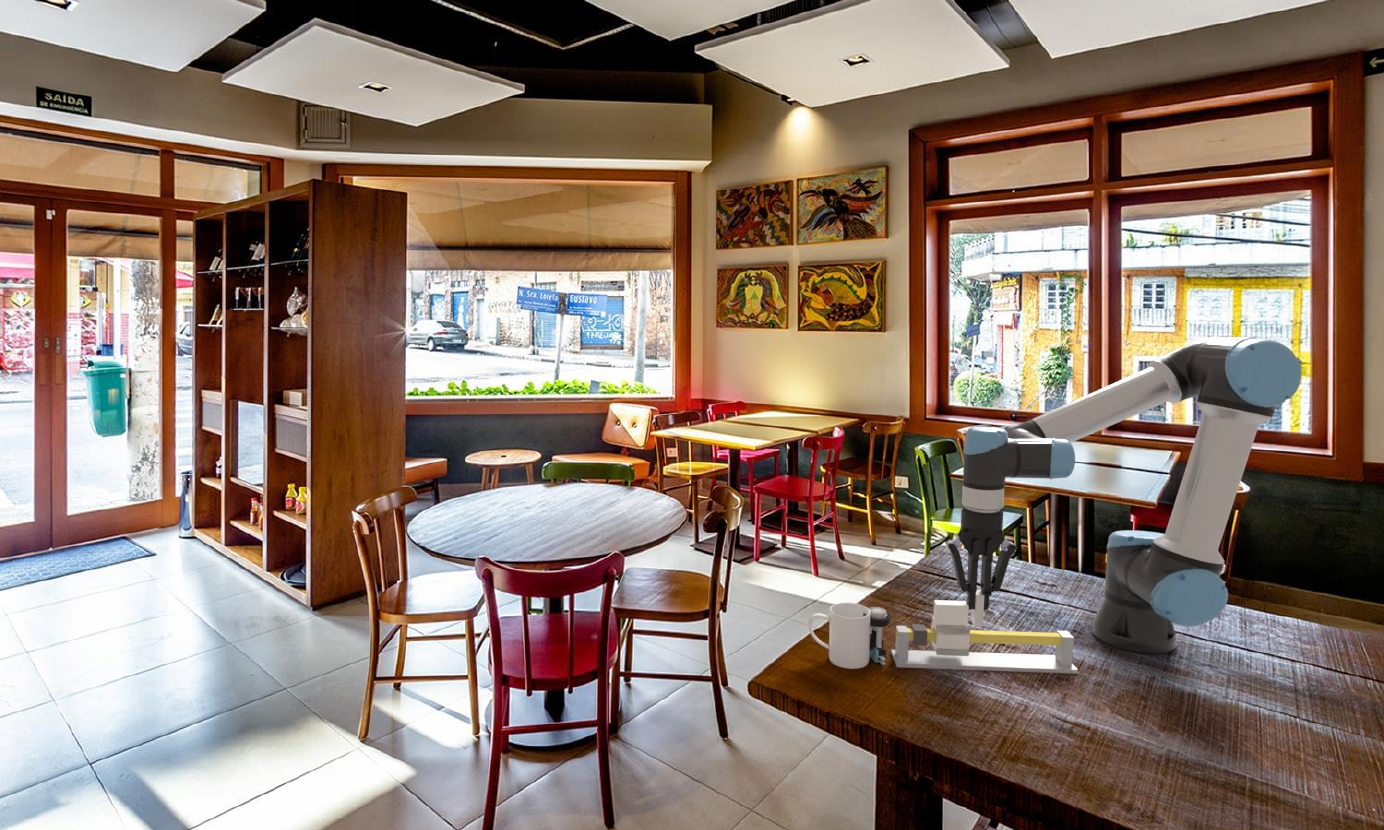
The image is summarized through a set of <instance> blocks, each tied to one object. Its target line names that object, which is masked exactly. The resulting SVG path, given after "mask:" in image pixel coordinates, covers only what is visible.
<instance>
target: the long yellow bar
mask: <svg viewBox="0 0 1384 830" xmlns="http://www.w3.org/2000/svg"><path fill="white" fill-rule="evenodd" d="M910 624H911V623H910ZM907 629H908V631H909V642H910V641H911V642H912V645H914V646H927V645H928V642H931V641H934V642H936V630H935V629H931V628H927V627H926V625H925V624H919V623H918V624H917V623H915V624H913V623H912V624H911V627H910V628H909V627H907ZM896 637H897V639H898V630H897V628H896V627H895V638H896ZM1061 641H1062V637H1061V636H1060V634H1059V633H1057V632H1046V631H1044V632H1041V631H1013V630H1012V631H1010V630H1009V631H1008V630H1007V631H1005V630H1004V631H1003V630H1001V631H1000V630H979V629H977V630H976V629H975V630H973V629H970V640H969V644H970V643H971V644H973V643H974V644H995V645H996V644H999V645H1000V644H1001V645H1003V644H1005V645H1028V646H1030V645H1031V646H1033V645H1034V646H1055V647H1056V646H1061Z"/></svg>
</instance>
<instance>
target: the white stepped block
mask: <svg viewBox="0 0 1384 830" xmlns="http://www.w3.org/2000/svg"><path fill="white" fill-rule="evenodd" d="M930 625H931V626H930V629H935V630H936V642H934V641H930V644H931V646H932V648H933V651H935V652H936V654H937V655H949V656H969V652H970V643H969V640H970V630H971V629H970V627H969V606H968V604H967V600H942V599H941V600H940V599H934V600H933V615H932V616H931V624H930Z"/></svg>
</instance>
